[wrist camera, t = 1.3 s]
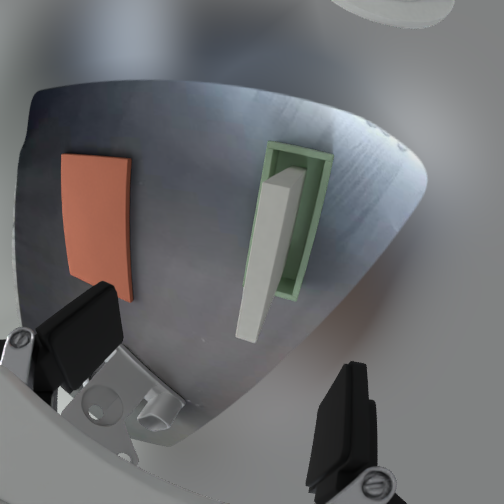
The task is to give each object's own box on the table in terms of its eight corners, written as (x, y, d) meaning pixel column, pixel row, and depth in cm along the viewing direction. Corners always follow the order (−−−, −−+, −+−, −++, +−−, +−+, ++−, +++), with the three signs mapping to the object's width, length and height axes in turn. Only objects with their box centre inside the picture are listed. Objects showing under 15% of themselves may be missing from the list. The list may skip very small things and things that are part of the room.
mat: (65, 153, 30) (61, 154, 30) (131, 158, 28) (127, 159, 27) (73, 272, 39) (70, 274, 38) (133, 300, 36) (130, 303, 36)
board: (292, 165, 24) (262, 181, 13) (307, 168, 23) (290, 187, 13) (272, 262, 28) (235, 337, 17) (285, 266, 28) (255, 343, 17)
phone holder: (189, 404, 43) (146, 479, 27) (165, 412, 48) (126, 474, 32) (118, 340, 42) (55, 407, 26) (103, 357, 46) (51, 413, 30)
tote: (275, 141, 24) (267, 140, 20) (333, 154, 23) (334, 155, 20) (251, 271, 29) (242, 286, 26) (300, 284, 28) (296, 301, 25)
